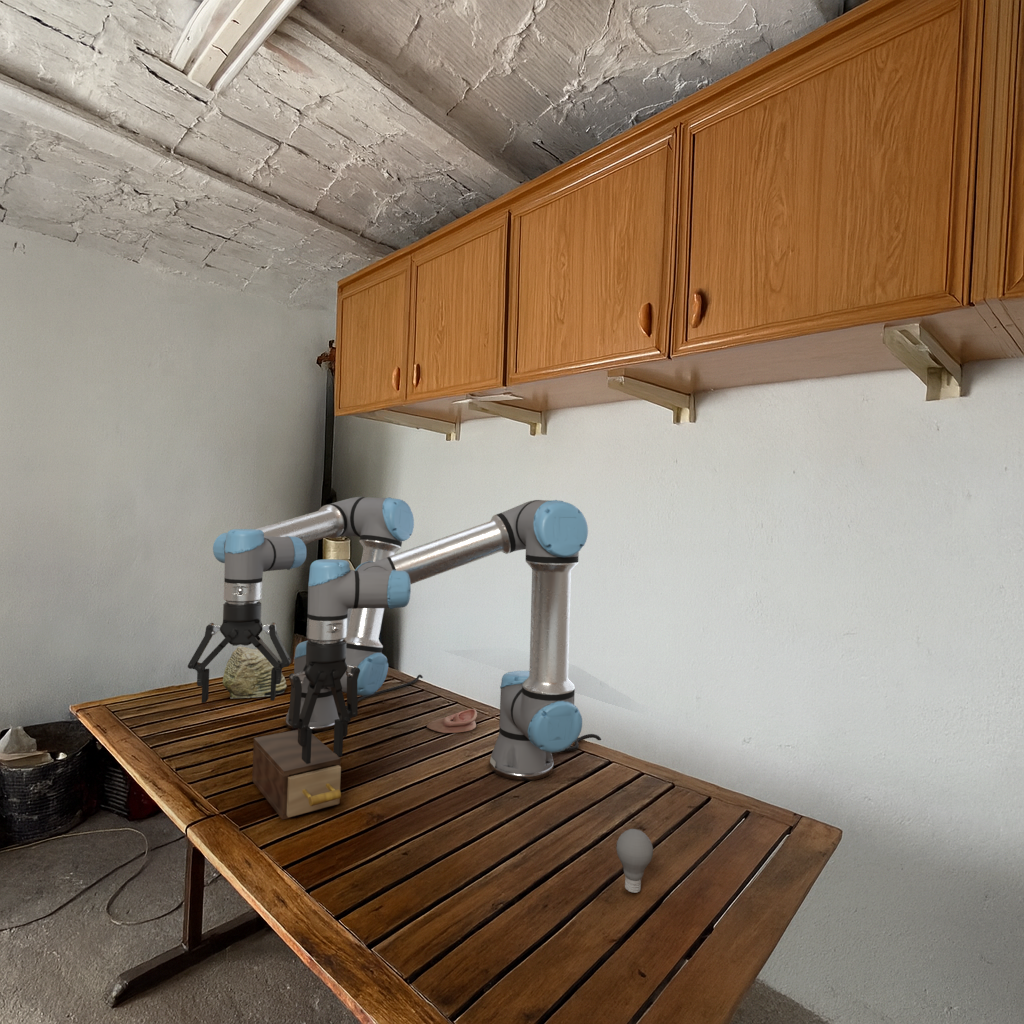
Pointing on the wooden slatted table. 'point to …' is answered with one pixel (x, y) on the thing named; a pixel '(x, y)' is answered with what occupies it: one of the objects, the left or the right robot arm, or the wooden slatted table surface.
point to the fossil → (249, 675)
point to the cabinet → (285, 765)
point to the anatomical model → (455, 722)
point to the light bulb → (634, 857)
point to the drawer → (313, 790)
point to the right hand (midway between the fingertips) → (322, 757)
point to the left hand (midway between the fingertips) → (239, 700)
